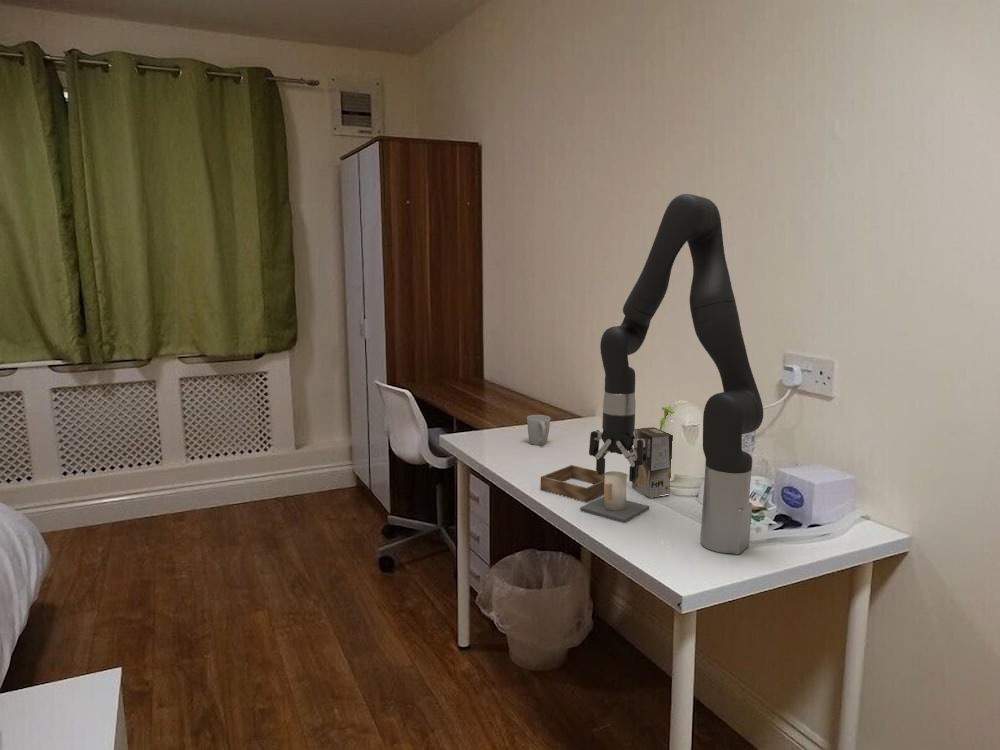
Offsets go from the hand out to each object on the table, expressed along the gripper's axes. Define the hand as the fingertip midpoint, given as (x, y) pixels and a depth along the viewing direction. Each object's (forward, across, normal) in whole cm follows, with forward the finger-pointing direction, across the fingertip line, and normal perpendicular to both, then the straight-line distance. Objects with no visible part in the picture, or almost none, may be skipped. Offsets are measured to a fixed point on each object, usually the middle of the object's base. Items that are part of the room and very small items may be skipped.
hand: (616, 477), depth 170 cm
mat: (+8, 0, 0) cm, 8 cm away
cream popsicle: (+7, 0, 0) cm, 7 cm away
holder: (+8, +15, -7) cm, 19 cm away
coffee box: (+8, 0, -18) cm, 20 cm away
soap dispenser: (+8, +2, -30) cm, 31 cm away
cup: (+8, +49, -37) cm, 62 cm away
